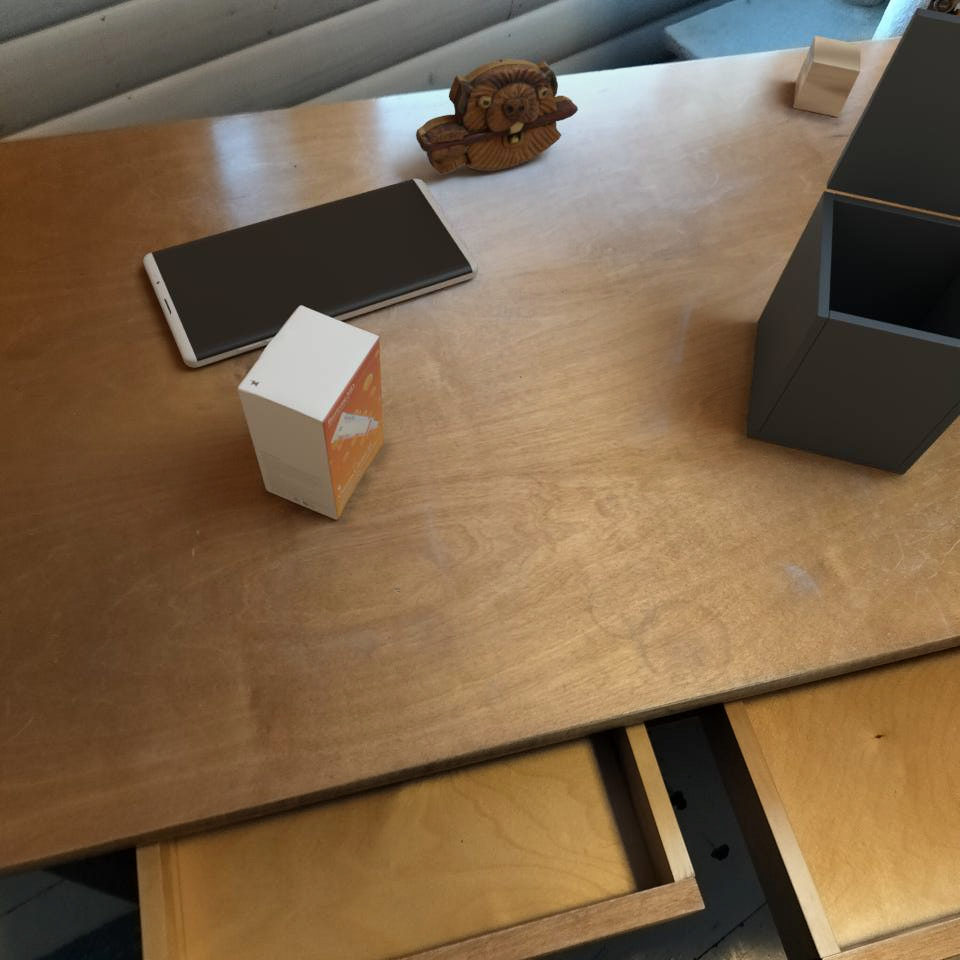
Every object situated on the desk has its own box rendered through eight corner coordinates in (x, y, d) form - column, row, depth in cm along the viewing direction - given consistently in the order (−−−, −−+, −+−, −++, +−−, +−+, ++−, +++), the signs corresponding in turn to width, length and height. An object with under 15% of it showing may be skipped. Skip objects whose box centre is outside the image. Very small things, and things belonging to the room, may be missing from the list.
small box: (338, 523, 64) (322, 424, 53) (264, 491, 65) (233, 387, 54) (387, 442, 68) (381, 333, 57) (316, 413, 69) (297, 301, 58)
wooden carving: (432, 199, 83) (435, 108, 74) (412, 170, 85) (412, 78, 76) (577, 156, 87) (594, 65, 79) (554, 129, 89) (569, 38, 81)
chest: (904, 474, 69) (1012, 359, 57) (745, 436, 70) (817, 315, 58) (902, 354, 76) (998, 227, 64) (757, 321, 77) (823, 190, 65)
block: (795, 81, 97) (814, 35, 92) (839, 90, 96) (861, 44, 91) (793, 108, 94) (812, 61, 89) (838, 117, 94) (860, 71, 89)
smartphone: (481, 280, 78) (482, 266, 76) (189, 375, 70) (184, 362, 69) (420, 188, 83) (420, 173, 82) (144, 267, 76) (139, 252, 74)
